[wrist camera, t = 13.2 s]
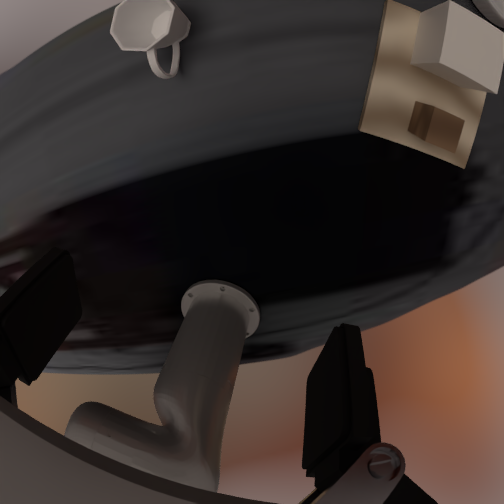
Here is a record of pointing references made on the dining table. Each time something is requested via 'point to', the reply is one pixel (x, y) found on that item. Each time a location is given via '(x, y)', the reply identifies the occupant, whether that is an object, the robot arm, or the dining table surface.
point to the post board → (417, 96)
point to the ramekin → (492, 10)
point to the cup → (150, 30)
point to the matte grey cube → (459, 47)
